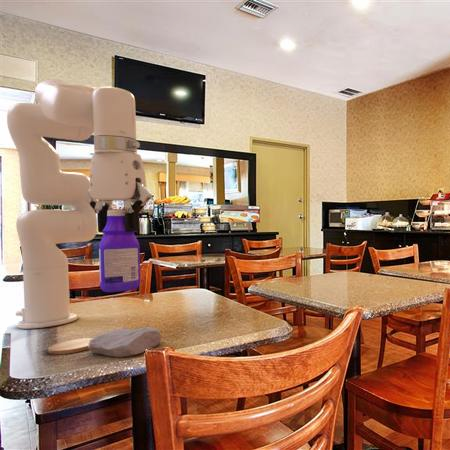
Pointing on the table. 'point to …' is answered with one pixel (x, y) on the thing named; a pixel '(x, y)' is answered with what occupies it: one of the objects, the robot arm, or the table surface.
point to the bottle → (118, 255)
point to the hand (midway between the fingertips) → (119, 230)
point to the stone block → (125, 341)
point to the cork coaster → (70, 346)
